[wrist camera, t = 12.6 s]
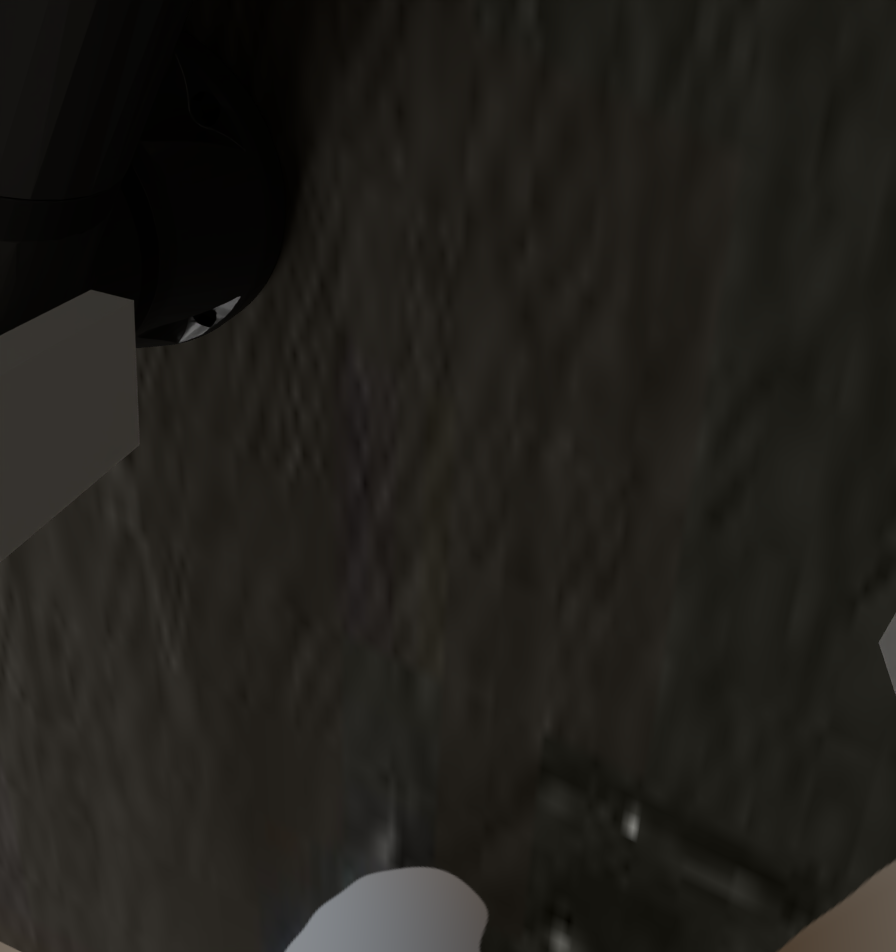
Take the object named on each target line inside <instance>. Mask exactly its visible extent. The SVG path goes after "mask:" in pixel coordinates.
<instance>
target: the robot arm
mask: <svg viewBox="0 0 896 952" xmlns="http://www.w3.org/2000/svg"><path fill="white" fill-rule="evenodd" d="M192 3H193V0H0V562H1V561H2V560H4V559H5V558H6V557H7V556H8V555H9V554H11V553H12V552H13V551H14V550H15V549H17V548H18V547H19V546H20V545H21V544H23V543H24V542H25V541H26V540H27V539H28V538H30V537H31V536H32V535H33V534H34V533H36V532H37V531H38V530H39V529H40V528H41V527H43V526H44V525H45V524H46V523H47V522H49V521H50V520H51V519H52V518H53V517H55V516H56V515H57V514H58V513H59V512H60V511H62V510H63V509H64V508H65V507H66V506H68V505H69V504H70V503H71V502H72V501H74V500H75V499H76V498H77V497H78V496H79V495H81V494H82V493H83V492H84V491H85V490H87V489H88V488H89V487H90V486H91V485H92V484H94V483H95V482H96V481H97V480H98V479H100V478H101V477H102V476H103V475H104V474H106V473H107V472H108V471H109V470H110V469H111V468H113V467H114V466H115V465H116V464H117V463H119V462H120V461H121V460H122V459H123V458H125V457H126V456H127V455H128V454H129V453H130V452H132V451H133V450H134V449H135V448H136V447H138V446H139V445H140V442H139V417H138V392H137V368H136V348H143V347H155V346H166V345H174V344H180V343H183V342H187V341H191V340H193V339H196V338H199V337H201V336H204V335H206V334H208V333H210V332H212V331H213V330H215V329H217V328H218V327H220V326H221V325H223V324H224V323H225V322H227V321H228V320H230V319H231V318H232V317H234V316H235V315H236V314H238V313H239V312H241V311H242V310H243V309H244V308H245V307H246V306H248V305H249V304H250V303H251V302H252V301H253V300H254V298H255V297H256V296H257V295H258V294H259V292H260V291H261V290H262V288H263V287H264V285H265V284H266V282H267V281H268V279H269V277H270V275H271V273H272V271H273V268H274V266H275V264H276V261H277V258H278V255H279V252H280V248H281V244H282V239H283V233H284V225H285V193H284V184H283V178H282V172H281V167H280V163H279V159H278V156H277V153H276V149H275V146H274V143H273V141H272V138H271V136H270V133H269V131H268V128H267V126H266V124H265V122H264V120H263V118H262V116H261V114H260V112H259V110H258V108H257V107H256V105H255V103H254V102H253V100H252V98H251V97H250V95H249V94H248V92H247V91H246V90H245V88H244V87H243V85H242V84H241V83H240V81H239V80H238V79H237V78H236V76H235V75H234V74H233V73H232V72H231V71H230V69H229V68H228V67H227V66H226V65H225V64H224V63H223V62H222V61H221V60H220V59H219V58H218V57H217V56H216V55H215V54H214V53H213V52H211V51H210V50H209V49H208V48H207V47H205V46H204V45H203V44H202V43H200V42H199V41H198V40H196V39H195V38H194V37H192V36H191V35H189V34H187V33H186V32H184V31H183V30H182V28H183V25H184V23H185V20H186V18H187V15H188V13H189V10H190V8H191V5H192ZM879 645H880V648H881V651H882V654H883V657H884V660H885V663H886V666H887V669H888V672H889V675H890V678H891V681H892V685H893V688H894V691H895V694H896V614H895V615H894V617H893V619H892V621H891V622H890V624H889V626H888V628H887V629H886V631H885V633H884V634H883V636H882V638H881V640H880V641H879Z"/></svg>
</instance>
